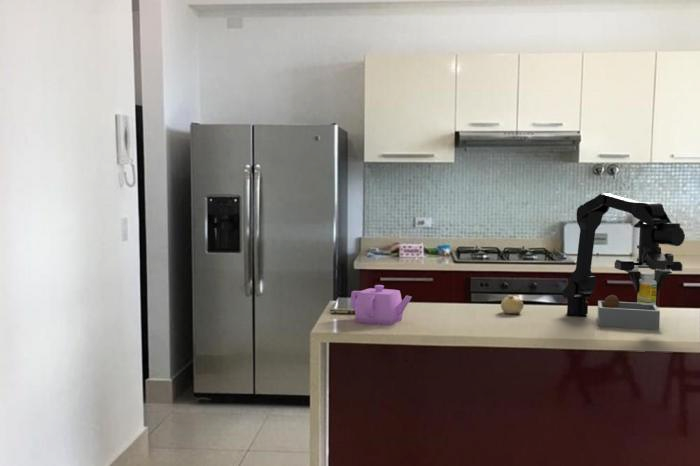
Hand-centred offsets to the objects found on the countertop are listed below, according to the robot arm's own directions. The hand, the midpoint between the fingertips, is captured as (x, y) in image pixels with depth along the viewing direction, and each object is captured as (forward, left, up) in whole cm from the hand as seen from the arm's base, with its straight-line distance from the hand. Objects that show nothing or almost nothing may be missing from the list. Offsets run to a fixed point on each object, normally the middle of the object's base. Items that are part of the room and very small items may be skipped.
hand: (646, 292), depth 196 cm
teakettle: (-84, -11, -13) cm, 85 cm away
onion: (-43, +17, -13) cm, 48 cm away
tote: (-5, +12, -13) cm, 18 cm away
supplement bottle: (0, 0, -4) cm, 4 cm away
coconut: (-11, +12, -11) cm, 20 cm away
